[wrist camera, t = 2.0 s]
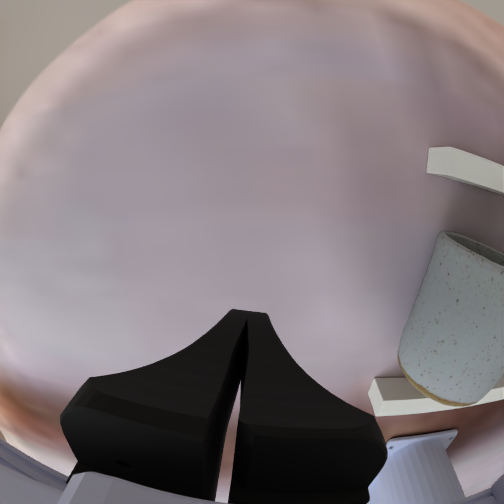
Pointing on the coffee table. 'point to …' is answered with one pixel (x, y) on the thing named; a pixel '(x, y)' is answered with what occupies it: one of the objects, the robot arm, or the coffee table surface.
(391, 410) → the track rails
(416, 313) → the ceramic mug
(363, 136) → the coffee table surface
